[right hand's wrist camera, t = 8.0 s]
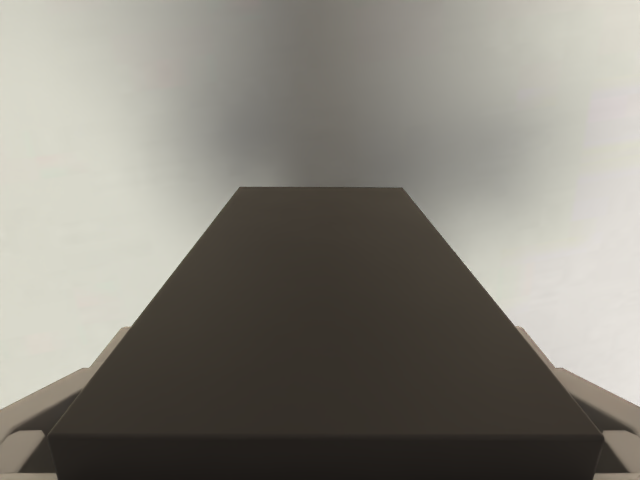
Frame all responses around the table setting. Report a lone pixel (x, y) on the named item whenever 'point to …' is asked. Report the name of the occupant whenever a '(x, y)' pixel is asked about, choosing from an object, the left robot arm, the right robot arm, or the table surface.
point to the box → (323, 360)
